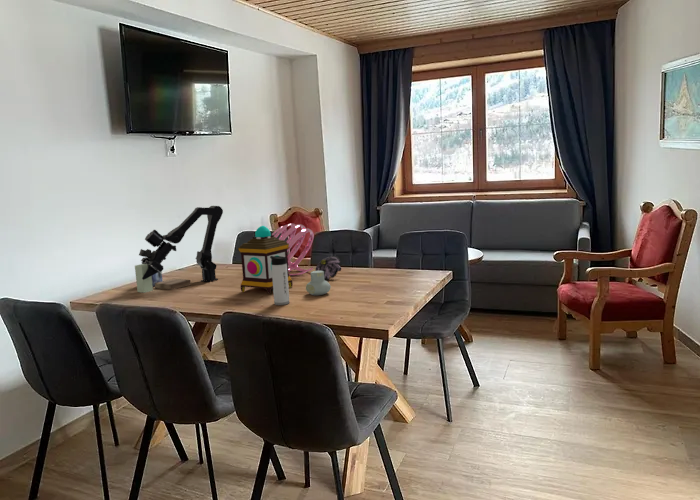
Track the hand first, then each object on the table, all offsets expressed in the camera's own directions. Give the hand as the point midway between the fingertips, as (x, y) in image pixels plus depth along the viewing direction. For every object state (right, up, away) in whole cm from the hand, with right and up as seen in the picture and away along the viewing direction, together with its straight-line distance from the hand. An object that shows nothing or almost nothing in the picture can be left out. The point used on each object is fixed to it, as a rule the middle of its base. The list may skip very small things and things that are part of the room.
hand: (140, 278), depth 270 cm
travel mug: (+73, -9, -39) cm, 83 cm away
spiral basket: (+70, +1, +28) cm, 76 cm away
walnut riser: (+12, -5, +10) cm, 17 cm away
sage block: (+1, -6, +2) cm, 7 cm away
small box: (0, -5, +16) cm, 17 cm away
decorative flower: (+90, -1, +11) cm, 91 cm away
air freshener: (+87, -6, -24) cm, 91 cm away
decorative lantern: (+62, -5, -10) cm, 63 cm away
